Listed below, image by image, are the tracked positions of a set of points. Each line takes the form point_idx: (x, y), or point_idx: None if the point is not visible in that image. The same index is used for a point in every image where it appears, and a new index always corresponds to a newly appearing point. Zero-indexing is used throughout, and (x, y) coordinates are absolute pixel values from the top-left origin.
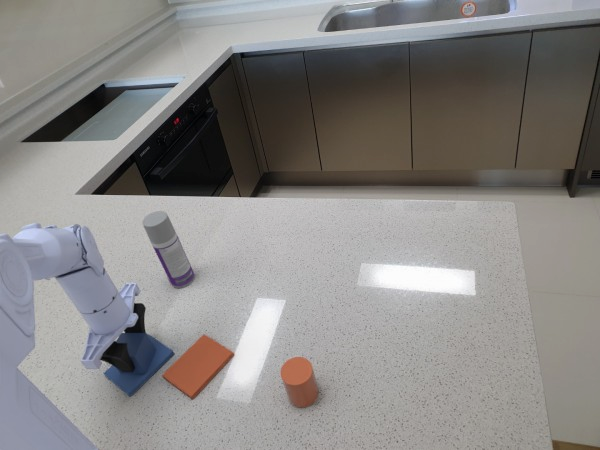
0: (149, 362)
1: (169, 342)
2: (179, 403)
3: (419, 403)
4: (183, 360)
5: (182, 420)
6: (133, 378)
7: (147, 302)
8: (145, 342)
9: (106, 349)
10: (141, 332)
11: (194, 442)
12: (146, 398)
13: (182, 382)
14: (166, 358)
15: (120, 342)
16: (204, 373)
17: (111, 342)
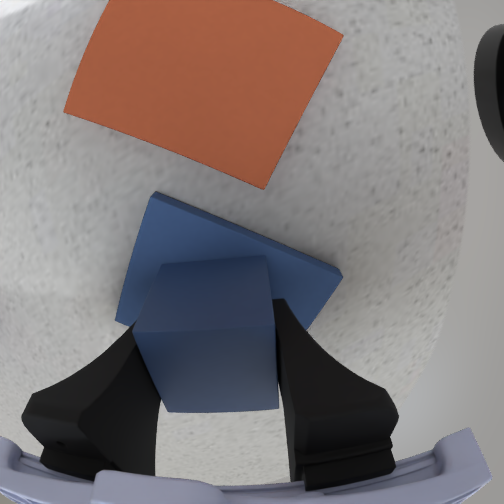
0: (221, 263)
1: (117, 236)
2: (356, 82)
3: None
4: (186, 128)
5: (408, 57)
6: (286, 288)
7: (42, 354)
8: (171, 312)
9: (375, 473)
10: (137, 350)
11: (453, 15)
12: (344, 212)
13: (289, 86)
14: (185, 208)
15: (208, 400)
16: (237, 14)
17: (376, 499)
